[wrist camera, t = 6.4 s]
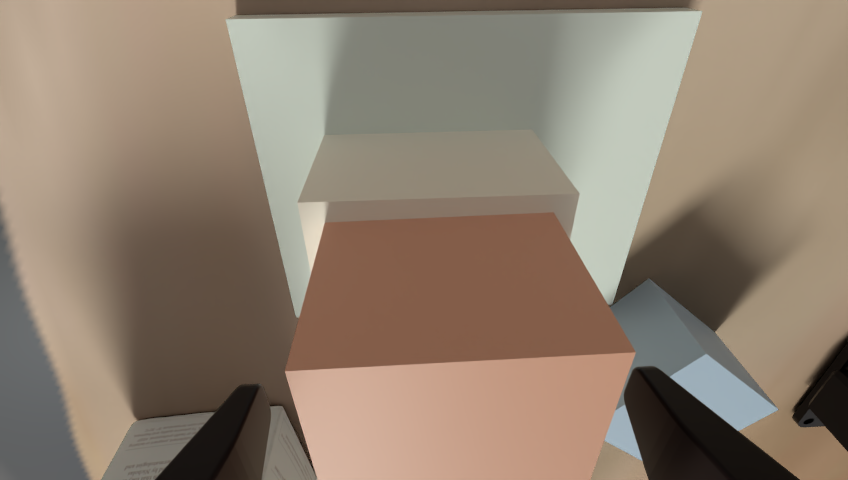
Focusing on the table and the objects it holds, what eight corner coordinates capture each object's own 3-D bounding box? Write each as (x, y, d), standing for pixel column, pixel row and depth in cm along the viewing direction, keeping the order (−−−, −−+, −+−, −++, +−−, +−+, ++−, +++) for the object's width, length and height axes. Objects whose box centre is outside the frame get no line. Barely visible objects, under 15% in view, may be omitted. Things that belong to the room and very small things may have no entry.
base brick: (532, 129, 13) (579, 193, 9) (511, 288, 16) (541, 377, 13) (324, 134, 12) (297, 202, 9) (346, 295, 16) (333, 386, 12)
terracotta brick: (528, 365, 12) (576, 518, 9) (351, 374, 12) (333, 534, 9) (553, 212, 10) (636, 352, 6) (325, 222, 9) (284, 371, 6)
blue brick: (712, 330, 19) (778, 409, 16) (620, 389, 21) (661, 471, 18) (647, 276, 17) (706, 353, 14) (552, 346, 19) (584, 429, 16)
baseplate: (685, 7, 12) (702, 11, 11) (604, 290, 17) (612, 304, 17) (235, 15, 11) (225, 19, 11) (300, 302, 17) (296, 317, 16)
